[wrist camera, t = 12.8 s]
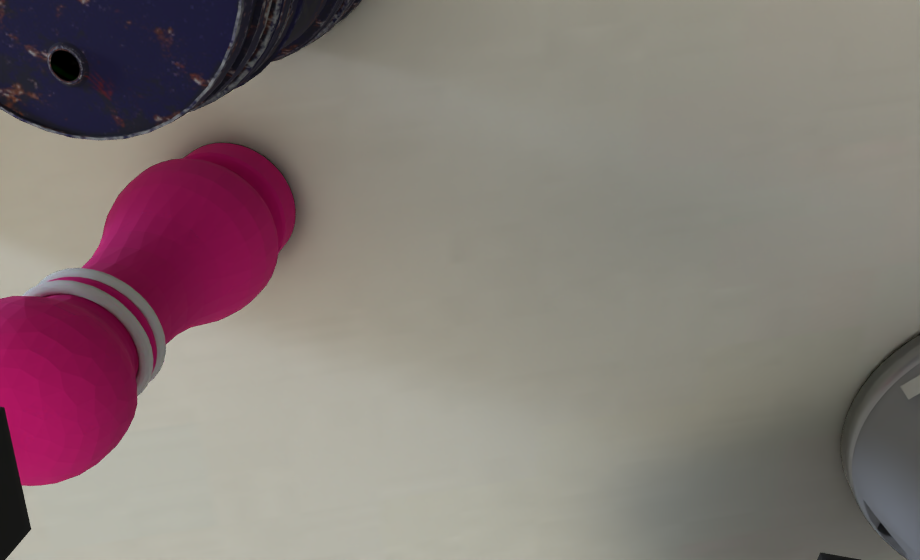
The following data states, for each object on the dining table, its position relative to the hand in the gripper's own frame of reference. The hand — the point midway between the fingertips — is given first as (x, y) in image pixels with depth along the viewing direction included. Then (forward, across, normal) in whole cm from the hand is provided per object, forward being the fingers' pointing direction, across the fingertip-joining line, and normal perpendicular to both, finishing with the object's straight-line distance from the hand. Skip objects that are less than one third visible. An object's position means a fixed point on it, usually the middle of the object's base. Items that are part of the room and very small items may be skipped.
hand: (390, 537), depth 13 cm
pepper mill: (+25, +13, +6) cm, 29 cm away
